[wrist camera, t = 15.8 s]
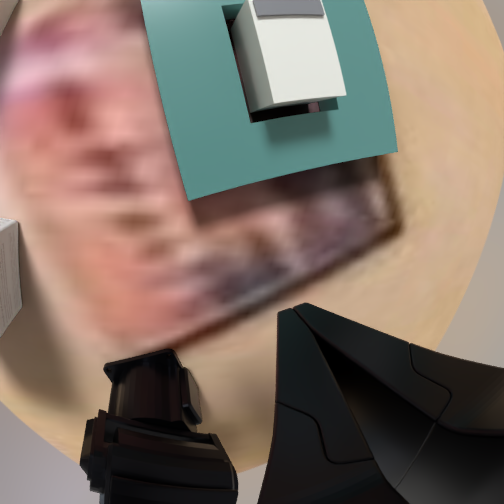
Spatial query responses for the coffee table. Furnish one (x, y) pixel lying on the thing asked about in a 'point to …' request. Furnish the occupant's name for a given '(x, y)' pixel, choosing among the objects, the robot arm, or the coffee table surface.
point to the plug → (286, 53)
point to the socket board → (234, 106)
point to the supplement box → (9, 273)
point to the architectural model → (6, 12)
